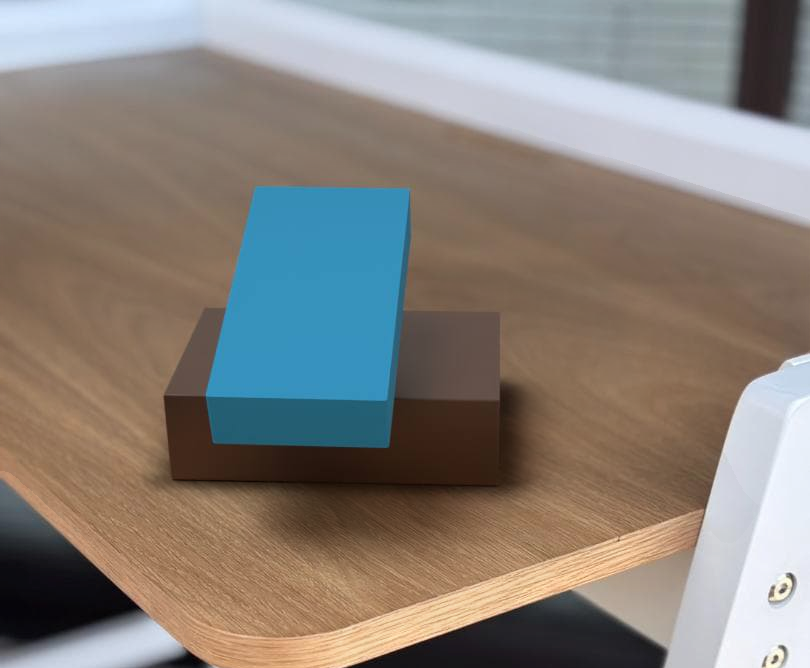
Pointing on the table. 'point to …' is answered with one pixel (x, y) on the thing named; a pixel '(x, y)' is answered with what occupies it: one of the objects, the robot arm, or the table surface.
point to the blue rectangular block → (313, 319)
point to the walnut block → (411, 420)
